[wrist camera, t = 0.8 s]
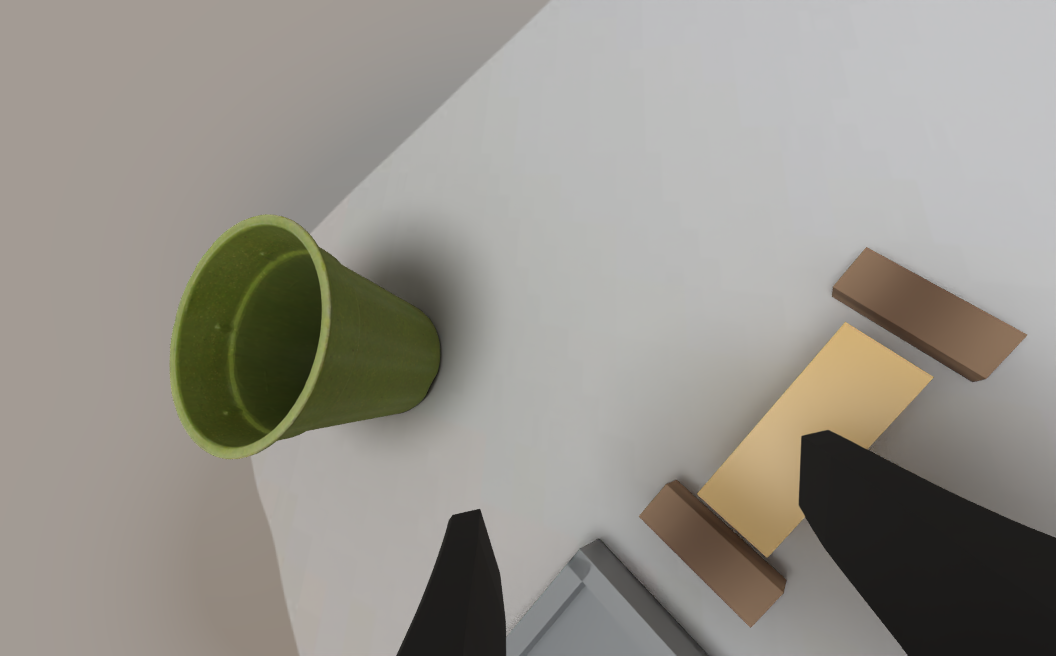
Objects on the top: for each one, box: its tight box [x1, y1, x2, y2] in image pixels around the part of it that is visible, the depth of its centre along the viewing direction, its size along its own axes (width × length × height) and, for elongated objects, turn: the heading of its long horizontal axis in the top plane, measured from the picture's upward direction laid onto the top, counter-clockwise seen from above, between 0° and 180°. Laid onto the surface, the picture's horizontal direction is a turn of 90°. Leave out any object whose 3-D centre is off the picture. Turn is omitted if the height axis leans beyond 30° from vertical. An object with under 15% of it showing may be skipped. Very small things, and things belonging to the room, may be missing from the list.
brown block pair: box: [639, 247, 1027, 628], centre depth 23 cm, size 6×15×2 cm, turn 139°
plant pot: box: [170, 215, 440, 459], centre depth 31 cm, size 12×12×11 cm
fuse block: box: [697, 322, 934, 558], centre depth 21 cm, size 3×8×6 cm, turn 139°
